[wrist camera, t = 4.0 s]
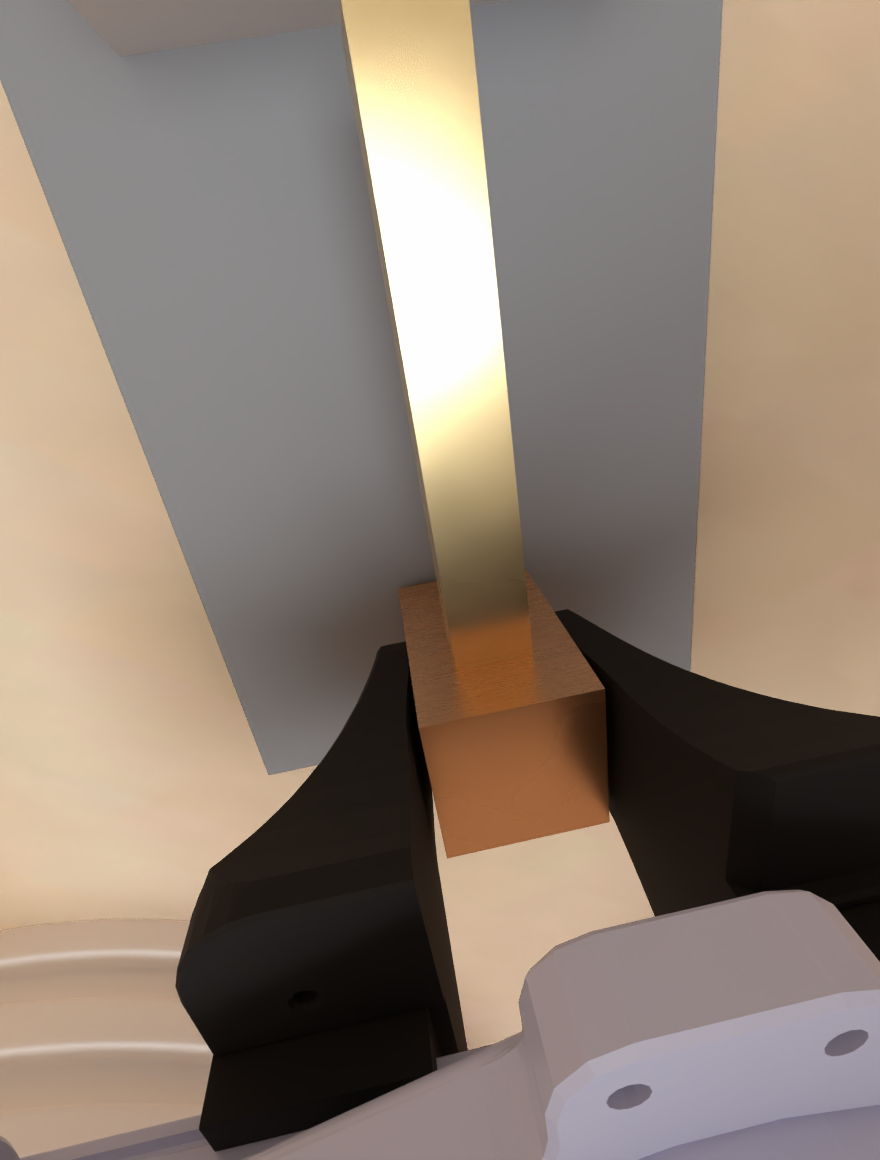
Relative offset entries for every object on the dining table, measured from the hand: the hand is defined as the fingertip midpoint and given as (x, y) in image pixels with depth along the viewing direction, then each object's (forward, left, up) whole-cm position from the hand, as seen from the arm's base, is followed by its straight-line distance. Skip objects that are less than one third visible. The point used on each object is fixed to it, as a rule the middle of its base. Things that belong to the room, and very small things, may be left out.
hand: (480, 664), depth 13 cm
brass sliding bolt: (0, -5, -1) cm, 5 cm away
